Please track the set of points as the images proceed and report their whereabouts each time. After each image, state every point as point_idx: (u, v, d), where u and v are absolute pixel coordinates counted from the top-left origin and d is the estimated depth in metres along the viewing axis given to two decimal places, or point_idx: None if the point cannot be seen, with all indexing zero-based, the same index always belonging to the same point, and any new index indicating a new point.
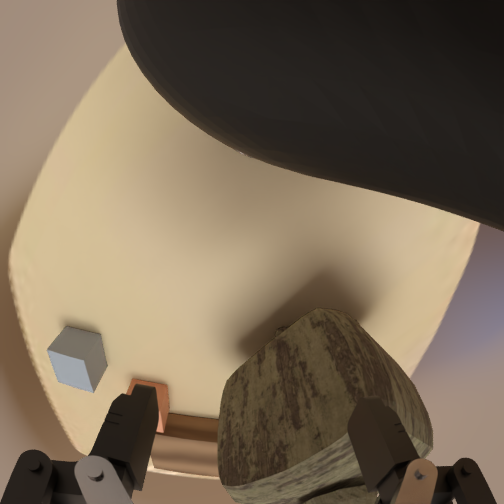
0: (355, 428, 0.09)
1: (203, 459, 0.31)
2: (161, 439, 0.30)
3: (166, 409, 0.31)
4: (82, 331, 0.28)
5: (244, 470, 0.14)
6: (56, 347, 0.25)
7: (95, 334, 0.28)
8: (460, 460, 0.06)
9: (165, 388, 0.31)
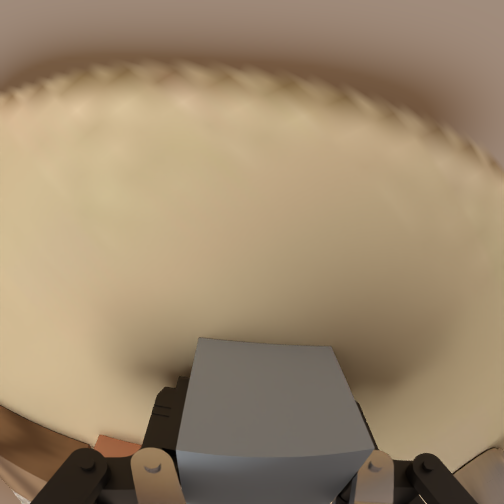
0: None
1: None
2: None
3: None
4: None
5: None
6: None
7: None
8: (418, 457, 0.06)
9: None
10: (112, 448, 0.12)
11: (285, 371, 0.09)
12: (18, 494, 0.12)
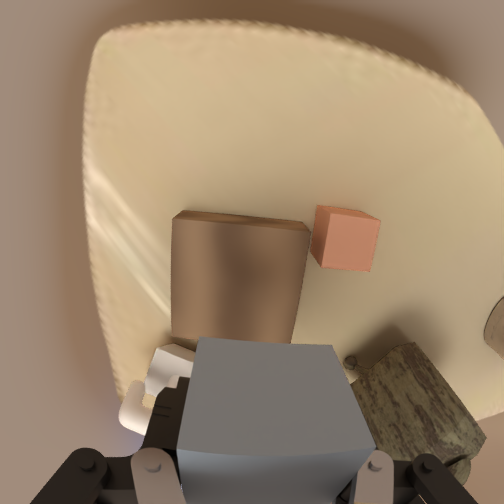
0: None
1: (235, 311, 0.25)
2: (293, 256, 0.23)
3: None
4: None
5: None
6: None
7: None
8: (418, 457, 0.06)
9: None
10: (330, 207, 0.26)
11: (286, 370, 0.09)
12: (165, 351, 0.26)
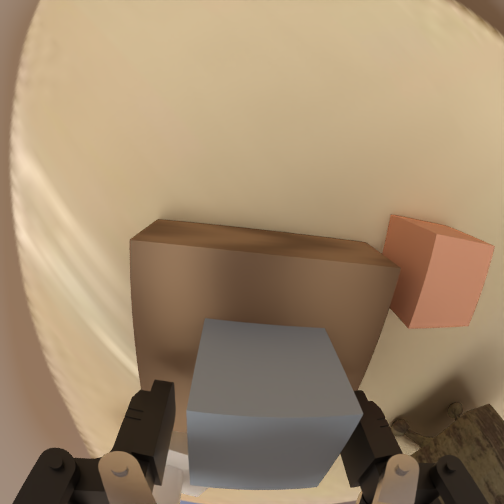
0: None
1: None
2: (366, 312, 0.12)
3: None
4: None
5: None
6: None
7: None
8: (442, 458, 0.06)
9: None
10: (412, 219, 0.14)
11: (282, 347, 0.10)
12: None
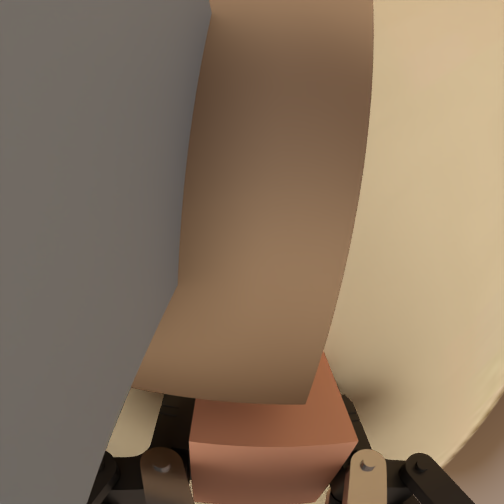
0: None
1: None
2: (216, 365, 0.06)
3: None
4: None
5: None
6: None
7: None
8: (411, 457, 0.06)
9: None
10: None
11: (159, 175, 0.03)
12: None
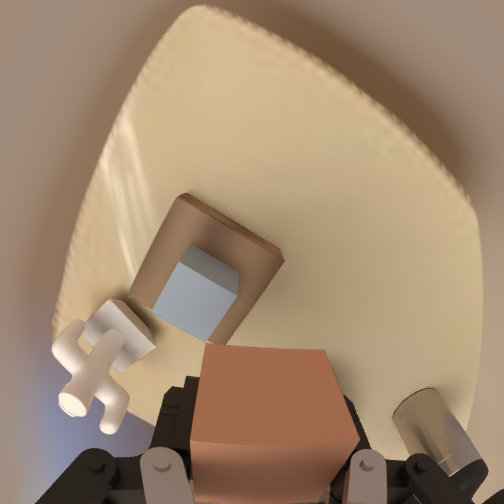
0: None
1: None
2: (260, 274, 0.26)
3: None
4: None
5: None
6: None
7: None
8: (411, 457, 0.06)
9: None
10: None
11: (218, 266, 0.24)
12: (115, 304, 0.27)
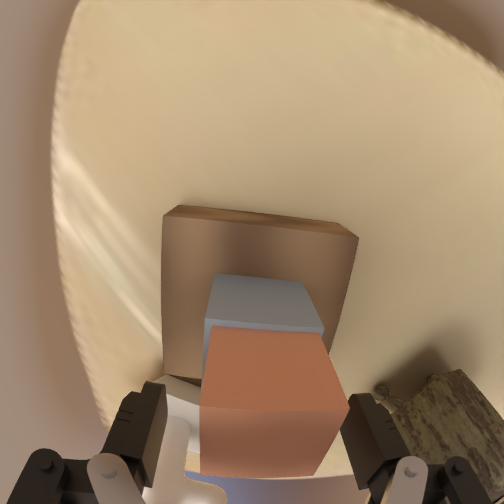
0: (347, 425, 0.10)
1: None
2: (334, 271, 0.16)
3: None
4: None
5: None
6: None
7: None
8: (451, 459, 0.06)
9: None
10: None
11: (270, 290, 0.15)
12: None
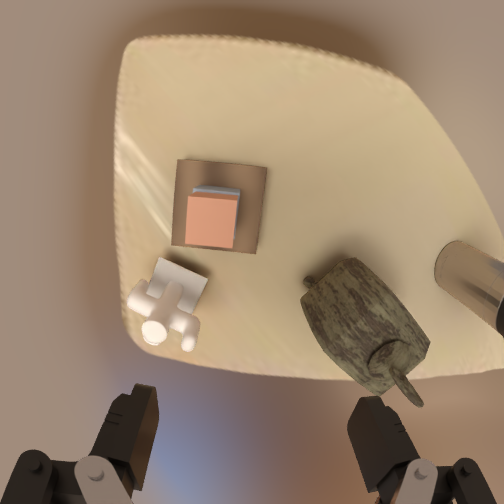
0: (355, 428, 0.09)
1: None
2: (255, 184, 0.35)
3: None
4: None
5: None
6: None
7: None
8: (460, 460, 0.06)
9: None
10: None
11: (223, 188, 0.33)
12: (165, 259, 0.38)
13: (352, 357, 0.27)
